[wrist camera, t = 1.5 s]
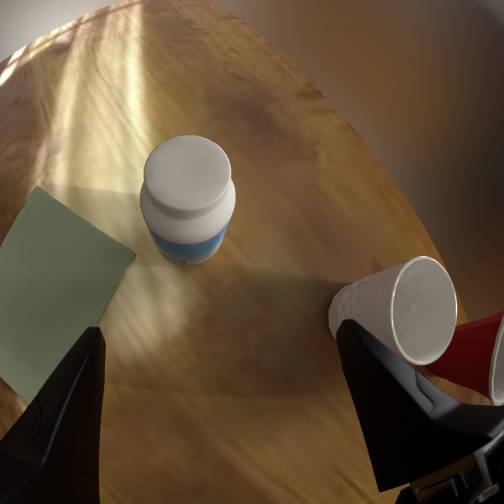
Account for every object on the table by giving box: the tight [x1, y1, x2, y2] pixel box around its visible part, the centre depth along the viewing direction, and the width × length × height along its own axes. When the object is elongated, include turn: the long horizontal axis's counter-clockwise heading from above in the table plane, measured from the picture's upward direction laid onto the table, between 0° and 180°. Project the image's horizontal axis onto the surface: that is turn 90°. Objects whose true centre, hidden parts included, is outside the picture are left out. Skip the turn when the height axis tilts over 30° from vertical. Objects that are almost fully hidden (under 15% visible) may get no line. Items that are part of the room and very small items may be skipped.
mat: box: [0, 186, 136, 404], centre depth 19 cm, size 19×14×1 cm
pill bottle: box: [140, 135, 235, 266], centre depth 19 cm, size 6×6×11 cm
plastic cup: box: [427, 310, 504, 405], centre depth 22 cm, size 11×11×12 cm
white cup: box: [328, 256, 457, 365], centre depth 21 cm, size 8×8×10 cm
